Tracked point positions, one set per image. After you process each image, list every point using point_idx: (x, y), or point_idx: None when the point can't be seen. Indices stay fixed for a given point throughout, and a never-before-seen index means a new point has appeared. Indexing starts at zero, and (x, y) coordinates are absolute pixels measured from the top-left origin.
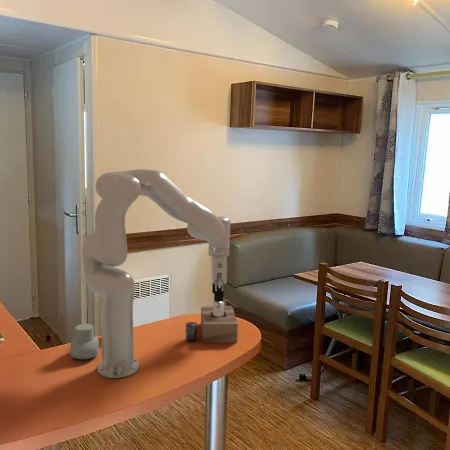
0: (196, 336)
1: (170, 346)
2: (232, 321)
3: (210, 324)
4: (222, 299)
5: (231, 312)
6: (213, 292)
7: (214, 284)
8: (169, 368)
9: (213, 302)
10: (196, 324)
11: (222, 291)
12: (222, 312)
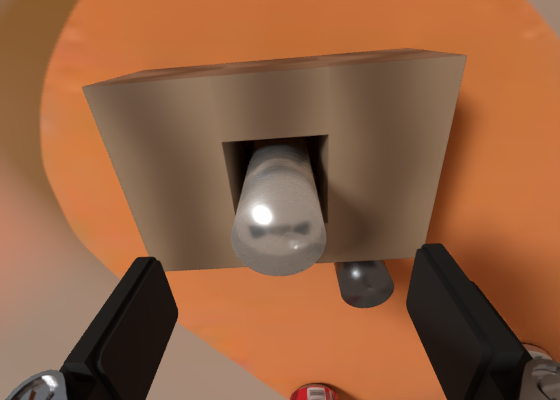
0: None
1: (392, 293)
2: (415, 95)
3: (427, 225)
4: (447, 261)
5: (232, 97)
6: (175, 314)
7: (135, 396)
8: (547, 285)
9: (295, 272)
10: (374, 273)
11: (510, 351)
12: (306, 173)
